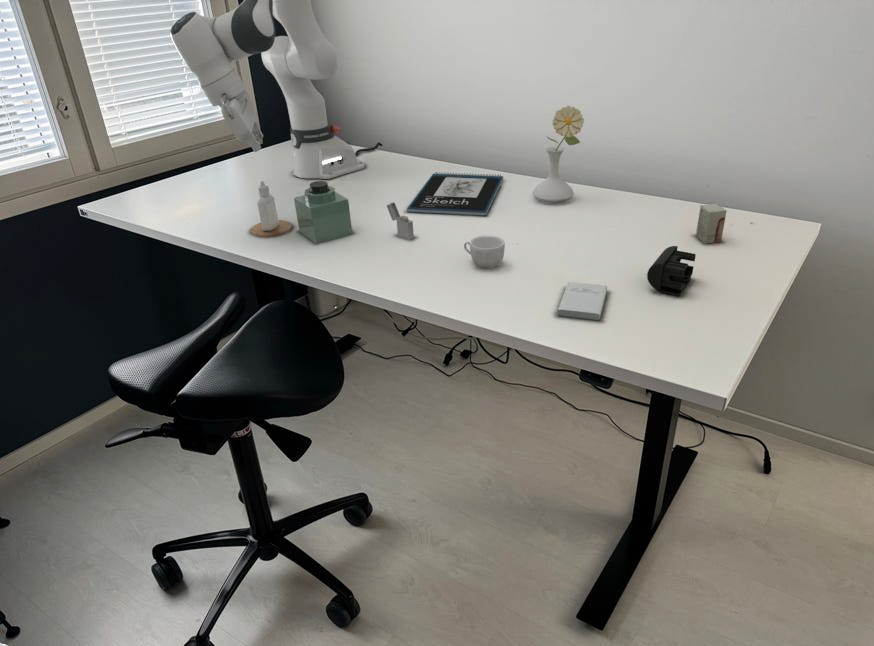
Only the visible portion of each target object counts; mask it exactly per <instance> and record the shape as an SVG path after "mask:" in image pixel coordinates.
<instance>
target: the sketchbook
mask: <svg viewBox="0 0 874 646" xmlns="http://www.w3.org/2000/svg"><path fill="white" fill-rule="evenodd" d="M503 181H504V176H503V175H502V174H495V173H494V174H491V173H489V174H488V173H486V174H485V173H469V172H468V173H465V172H464V173H460V172H441V171H440V172H438V171H435V172H434V173H432V174H431V176H430V177H429V178H428V180H427V181H426V182H425V184H424V185H423V186H422V188H421V189H420V190H419V191H418V194H416V196H415V197H414V199H413V200H412V201H411V202H410V204H409V205H408V206H407V208H406V209H407V210H406V211H407V213H414V214H415V213H416V214H434V215H435V214H436V215H457V216H475V217H477V216H478V217H487V214H488V212H489V210H490V208H491V206H492V204H493V202H494V200H495V198H496V196H497V193H498V192H499V190H500V187H501V185H502V183H503Z"/></svg>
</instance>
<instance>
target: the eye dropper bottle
mask: <svg viewBox="0 0 874 646" xmlns="http://www.w3.org/2000/svg"><path fill="white" fill-rule="evenodd" d="M257 189H258V193H259V197H258V199H257V208H258V214H259V218H260V223H261V224H262V229H263V230H264V231H271V230H274V229H275V228H277V227H278V225H279V221H278V220H279V217H278V212H277V211H278V210H277V206H276V201H275V196H274V195H273V194H271V193H270V188H269V186H268V185H266V184H265V181H263V180H262V181H260V186H258V187H257Z"/></svg>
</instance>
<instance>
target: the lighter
mask: <svg viewBox="0 0 874 646" xmlns="http://www.w3.org/2000/svg"><path fill="white" fill-rule="evenodd" d="M386 208H387V211H388V213H389V216H390V218H391V220H392V221H396V229H397V230H396V232H397V237H400V238H402V239H405V240H412V239H414V237H415V235H414V233H415V232H414V222H413V220H410V219H409V216H407V215H400V212H399V210H398V207H397V205H396V202H395V201H392V202H390V203H388V204H386Z"/></svg>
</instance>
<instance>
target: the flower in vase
mask: <svg viewBox="0 0 874 646" xmlns="http://www.w3.org/2000/svg"><path fill="white" fill-rule="evenodd" d="M584 123H585V118H584V117H583V114H582V110H580V109H579V108H576V107H575V106H570V105H567V106H562V107H561V109H558V110H556V111H555V114H554V117H553V119H552V122H551V125H552V127H553V129H554V130H555V134H557V135H560V136H561V137H562V136H563V138H562V139H561V141H560V142H558V141H557V140H556V139H553V138H551V137H549V136H548V135H546V138H547V139H548V140H550V141H552V142H554V143H556V144H558V145H551V146H547V147H545V151H546V153H547V154H548V158H549V174H548V176H547V177H546V178H544V179H543V180H542V181H540V183H538V184H537V185H536V186H535V187H534V188H533V190H532V195H533V198H535V199H537V200H539V201H542V202H547V203H561V202H565V201H568V200H570V199H571V198H572V197H573V196H574V194H575V192H574V189H573V188H572V187H571V185H569V184H568V183H567V182H566V181H564V179H562V178H561V177H560V175H559V164H560V159H561V156H562V154H563V152H564V151H565V147H562V146H561V145H562V143H563V142H564V141H565V143H566V144H567V145H568V146H575V145H579V144H580V143H581V141H580V140H579V138H578V137H576V136H575V135H577V134H580V132H581V130H582V128H583V126H584V125H583V124H584Z"/></svg>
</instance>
